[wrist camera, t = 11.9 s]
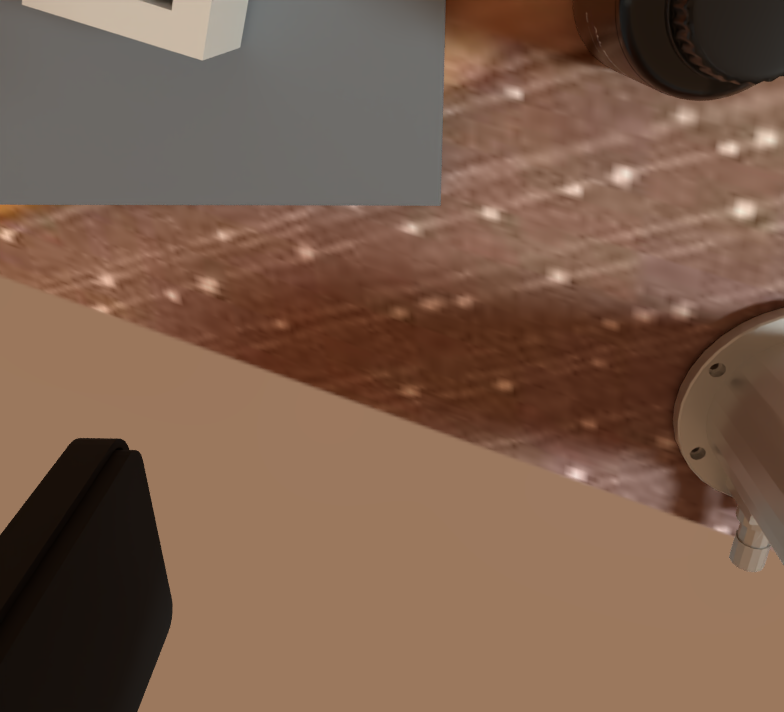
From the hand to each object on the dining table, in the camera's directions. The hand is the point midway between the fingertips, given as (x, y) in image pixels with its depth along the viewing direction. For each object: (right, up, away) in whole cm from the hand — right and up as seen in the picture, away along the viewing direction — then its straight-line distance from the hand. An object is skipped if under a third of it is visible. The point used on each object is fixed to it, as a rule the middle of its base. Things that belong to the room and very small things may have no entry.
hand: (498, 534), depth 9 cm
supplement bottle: (+10, +18, +22) cm, 30 cm away
